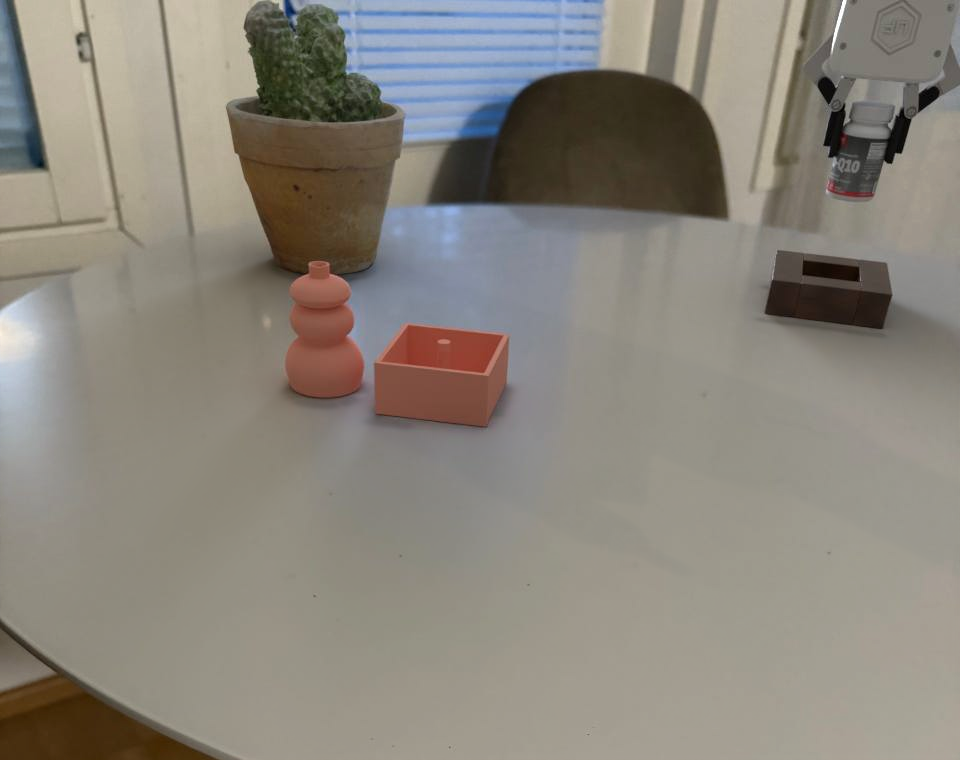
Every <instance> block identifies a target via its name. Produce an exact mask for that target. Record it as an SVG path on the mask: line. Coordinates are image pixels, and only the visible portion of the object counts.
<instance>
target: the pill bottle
mask: <svg viewBox="0 0 960 760" xmlns="http://www.w3.org/2000/svg"><path fill="white" fill-rule="evenodd" d="M895 111H896V105H894V104H892V103H890V102H889V103H888V102H885V101H884V102H882V101H876V100H875V101H874V100H856V101H853V102H852V104H851V106H850V111H849V114H848V119H849V121H848V122H846V123H844V125H843V129H842V133H841V137H840V141H839V145H838V149H837V153H836V157H833V161H832V166H831V170H830V173H829V178H828V181H827V185H826V190H825V193H826V196H828V197H830V198H832V199H835V200H839V201H843V202H851V203H852V202H853V203H867V202H869V201H872V200H873V199H874V198H875V195H876V191H877V188H878V184H879V180H880V177H881V173H882V170H883V166H884V163H885V161H884V159H885V156H886V152H887V148H888V145H889V141H890V138H891V127H890V126H889V124H890V123H892V120H894V114H895Z"/></svg>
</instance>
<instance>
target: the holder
mask: <svg viewBox="0 0 960 760" xmlns="http://www.w3.org/2000/svg"><path fill="white" fill-rule="evenodd" d="M891 284H892V283H891V278H890V273H889V267H888V263H887V262H885V261H884V262H883V261H876V260H868V259H859V258H858V259H857V258H850V257H842V256H834V255H824V254H816V253H807V252H799V251H790V250H783V249H777V250H776V251H775V256H774V261H773V265H772V269H771V275H770V279H769V284H768V290H767V295H766V302H765V308H764V314H767V315H775V316H782V317H790V318H793V317H794V318H797V319H805V320H812V321H820V322H828V323H835V324H843V325H853V326H859V327H865V328H874V329H883V328H884V325H885V322H886V318H887V314H888V312H889V308H890V305H891V301H892V297H893V291H892V285H891Z"/></svg>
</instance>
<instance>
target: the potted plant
mask: <svg viewBox="0 0 960 760" xmlns="http://www.w3.org/2000/svg"><path fill="white" fill-rule="evenodd" d="M339 19H340V18H339V13H338V12H335V10H334V9H333V8H331V7H328V6H326V5H324V4H322V3H311V4H306V5H305V6H303V8H301V9H300V10H299V13H298V16H297V17H296V18H295V21H296V24H295V25H294V26H292V27H291V25H290V24H291V22H292V19H291V18H288V17H287V16H286V15H285V11H284V10H283V9H281V8H280V3H279V2H277V3H276V2H273V1H271V0H261V1H260V0H259V1H257V2H256V3H254V4H253V6H251V7H250V9H249V10H248V11H247V12H246V15H245V18H244V24H243V27H242V29H243V30H244V32H245V35H244V37H245V39H246V41H247V43H248V44H249V45H250V47H248V49H247V53H248V54H249V56H250V57H251V59H252V65H253V69H254V73H255V78H256V81H257V82H256V84H257V85H258V87H257V89H256V90H255V92H256V94H257V95H254V96H247V97H241V98H235V99H232V100H230V101H228V102H227V103H226V104H225V109H226V110H225V111H226V115H227V120H228V124H229V128H230V134H231V140H232V141H231V142H232V146H233V151H234V154H236V155H238V158H239V163H240V167H241V171H242V175H243V179H244V181H245V183H246V185H247V186H248V189H249V192H250V194H251V198H252V201H253V204H254V207H255V210H256V213H257V217H258V218H259V221H260V224H261V227H262V229H263V232H264V234H265V237H266V238H267V241H268V244H269V247H270V250H271V254H272V257H273V258H274V260H275V262H276V264H277V266H278V267H280V268H282V269H284V270H286V271H290V272H293V273H297V274H303V275H307V274H309V266H308V264H309V263H310V262H314V261H324V262H328V263H329V269H330V274H332V275H336V276H338V275H343V274H351V273H356V272H360V271H364V270H366V269H368V268H369V267H370V266H372V264H373V263H374V261H375V260H376V259H377V254H378V249H379V244H380V240H381V234H382V229H383V224H384V219H385V216H386V212H387V207H388V204H389V199H390V195H391V191H392V185H393V179H394V173H395V169H396V168H395V167H396V161H397V160H398V159H400V158H401V153H402V148H403V141H404V127H405V119H406V116H407V111H406V110H405V109H404V108H401V107H400V106H399V105H398V104H394V103H392V102H389V101H385V100H381V95H382V91H381V89H380V87H379V85H378V84H377V83H375V82H374V81H372V80H371V79H369V78H368V77H367V76H366V75H364V74H360V73H359V72H349V73H347V70H346V68H347V62H348V53H347V49H346V45H345V40H346V32H345V31H344V29H343V28H342V26H340V25H339V24H338V23H339ZM294 30H295V31H294ZM295 36H297V37H295Z"/></svg>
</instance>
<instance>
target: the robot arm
mask: <svg viewBox="0 0 960 760" xmlns="http://www.w3.org/2000/svg"><path fill="white" fill-rule="evenodd" d="M959 8H960V0H843V1H842V3H841V8H840V11H839V14H838V18H837V21H836V25H835V30H834V31H833V32H832V33H831V34H830V36H828V37H827V39H825V41H823V42H822V44H821V45H820V46H819V47H818V48H817V49H816V50H815V51H814V52H813V53H812V54H811V55H810V56H809V58H807V60H806V61H805V62H804V63H803V66H802V71H803V73H804V74H805V75H806V76H807V77H808V78H809V80H810V81H811V82H812V83H813V84H814V85H815V87H816V88H817V89H818V91H819V93H820V94H821V96H822V97H823V99H824V101H825V102H826V104H827V105H828V107H829V109H830V113H829V115H828V120H827V124H826V129H825V132H824V137H823V141H822V147H828V149H827V158H829V159H834V157H836V153H837V149H838V145H839V141H840V137H841V133H842V129H843V126H844V125H845V120H846V116H847V111H846V101H847V99H848V96H849V94H850V92H851V90H852V88H853V86H854V84H855V82H856V81H857V79H859V80H870V81H883V82H891V83H892V82H895V83H902V106H901V107H899V110H898V112H897V114H895V115H894V116H893V121H892V125H891V127H890V129H891V138H890V141H889V145H888V148H887V152H886V156H885V159H884V163H886V164H888V165H893V163H894V160H895V156H896V155H897V154H899V155H902V154H903V152H904V147H905V146H906V143H907V142H906V141H907V138H908V134H909V130H910V127H911V125H912V124H911V123H912V120H913V119H914V118H915V117H916V116H917V115H918V114H919V113H920V112H922V111H923V110H925V109H926V108H927V107H928V106H930V105H931V104H933V103H934V102H935V101H936V100H937V99H939V98H940V97H942V96H945V95H946V94H948V93H949V92H951V91H952V90H954V89H956V88H957V87H959V86H960V65H959V62H958V59H957V57H956V53H955V52H954V49H953V46H952V44H951V42H952V37H953V33H954V29H955V25H956V20H957V16H958V12H959ZM827 60H828V66H829V68H830V70H831V71H832V72H833V73H834V74H835V75H838V76H839V77H840V78H839V80H838V82H837V84H836V86H835V84H834V81H833V80H832V79H831V77H830V76H829V75H828V74H827V73H826V72H825V70H824V69H823V64H824V63H825V62H826V61H827ZM942 71H943V75H942V77H941V78H940V79H938V80H937V81H935V80H936V79H937V78H939V76H940V75H941V73H942ZM933 81H935V82H934V83H932V84H930V85H928V86H927V87H925V88H924V89H923V90H921V91H920V84H927V83H930V82H933Z"/></svg>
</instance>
